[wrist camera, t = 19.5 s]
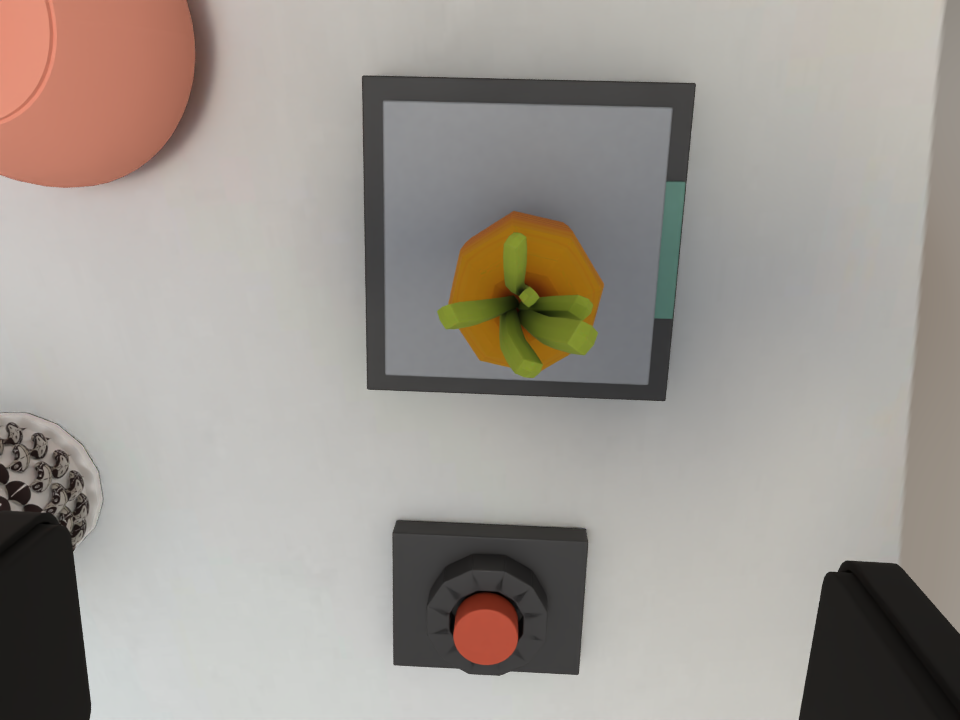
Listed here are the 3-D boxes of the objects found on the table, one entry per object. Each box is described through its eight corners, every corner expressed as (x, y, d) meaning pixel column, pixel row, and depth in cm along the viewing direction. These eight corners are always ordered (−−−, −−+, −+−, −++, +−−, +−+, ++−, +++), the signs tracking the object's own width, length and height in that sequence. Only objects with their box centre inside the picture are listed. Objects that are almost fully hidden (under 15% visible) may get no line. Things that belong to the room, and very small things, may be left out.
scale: (684, 86, 35) (700, 82, 32) (656, 385, 39) (668, 407, 36) (371, 79, 36) (358, 74, 32) (375, 374, 39) (363, 395, 36)
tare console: (586, 528, 41) (591, 558, 38) (577, 658, 44) (581, 696, 41) (396, 520, 42) (387, 548, 39) (397, 649, 44) (388, 685, 41)
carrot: (443, 263, 34) (390, 357, 20) (510, 169, 33) (503, 195, 19) (535, 328, 35) (546, 464, 21) (603, 237, 34) (666, 315, 19)
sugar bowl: (-60, 144, 37) (-266, 148, 27) (-38, -187, 33) (-269, -319, 24) (193, 213, 38) (78, 242, 28) (244, -107, 34) (132, -204, 24)
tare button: (519, 593, 40) (519, 611, 38) (516, 647, 40) (516, 667, 39) (456, 590, 40) (453, 608, 38) (454, 644, 41) (452, 664, 39)
